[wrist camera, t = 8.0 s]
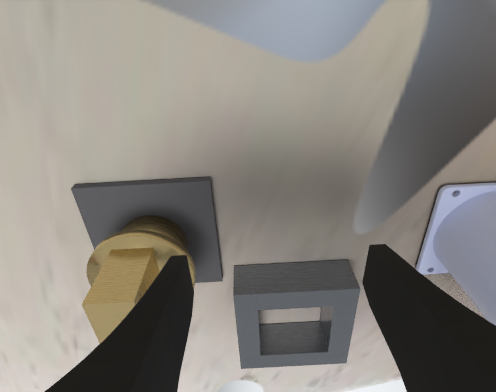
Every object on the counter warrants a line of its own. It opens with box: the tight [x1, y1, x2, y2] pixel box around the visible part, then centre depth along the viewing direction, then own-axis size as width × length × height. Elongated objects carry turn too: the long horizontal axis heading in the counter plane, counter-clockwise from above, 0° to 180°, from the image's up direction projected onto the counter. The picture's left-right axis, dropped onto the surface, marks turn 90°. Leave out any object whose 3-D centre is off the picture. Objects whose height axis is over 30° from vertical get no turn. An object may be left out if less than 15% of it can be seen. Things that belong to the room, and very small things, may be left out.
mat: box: [71, 177, 223, 283], centre depth 23 cm, size 9×9×1 cm
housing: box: [234, 260, 360, 369], centre depth 26 cm, size 9×9×3 cm
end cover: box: [82, 215, 196, 343], centre depth 20 cm, size 7×7×8 cm
